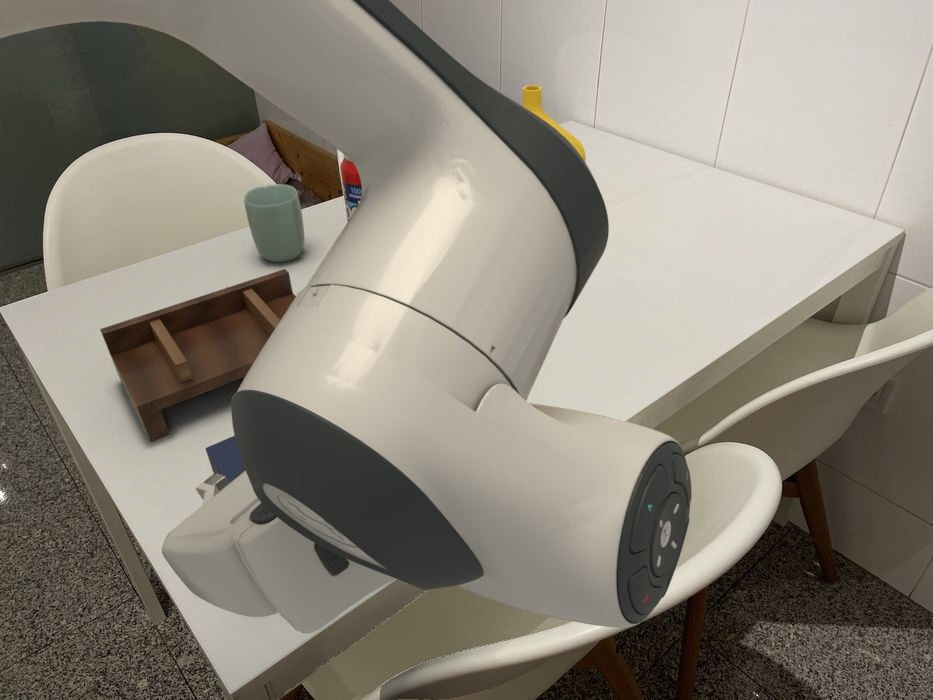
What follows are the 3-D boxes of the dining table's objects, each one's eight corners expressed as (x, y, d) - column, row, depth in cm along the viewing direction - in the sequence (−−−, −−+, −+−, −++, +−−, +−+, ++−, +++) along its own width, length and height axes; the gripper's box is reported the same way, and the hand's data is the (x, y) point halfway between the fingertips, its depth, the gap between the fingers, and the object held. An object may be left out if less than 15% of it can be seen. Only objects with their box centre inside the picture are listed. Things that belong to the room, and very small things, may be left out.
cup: (255, 248, 109) (241, 188, 103) (305, 240, 111) (294, 180, 105) (258, 272, 103) (244, 209, 97) (311, 263, 105) (300, 201, 99)
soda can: (411, 242, 110) (404, 148, 101) (380, 262, 104) (369, 166, 95) (373, 230, 113) (363, 139, 104) (340, 250, 108) (327, 155, 99)
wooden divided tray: (150, 442, 74) (127, 383, 69) (122, 384, 82) (99, 328, 77) (337, 365, 84) (327, 310, 79) (295, 321, 92) (285, 268, 87)
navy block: (261, 592, 59) (227, 486, 51) (240, 552, 62) (204, 447, 55) (315, 562, 61) (290, 457, 54) (292, 526, 65) (265, 421, 57)
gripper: (489, 321, 42) (354, 323, 52) (214, 567, 30) (105, 509, 40) (525, 406, 45) (389, 392, 54) (283, 663, 33) (165, 586, 42)
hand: (267, 443), depth 47 cm, fingers open, 8 cm apart
